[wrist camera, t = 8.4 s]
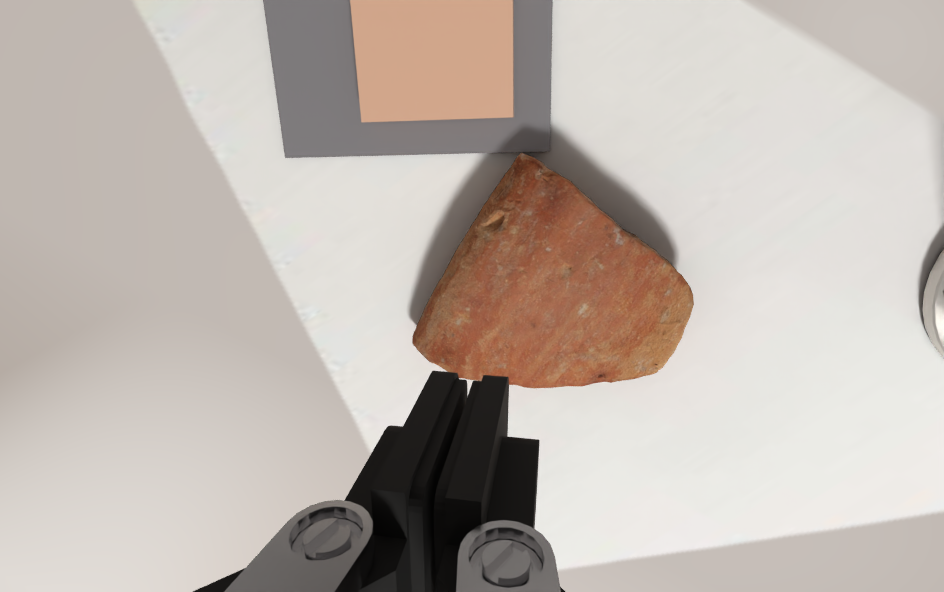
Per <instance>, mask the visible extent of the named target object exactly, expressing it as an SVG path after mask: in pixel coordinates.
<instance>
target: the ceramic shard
mask: <svg viewBox="0 0 944 592" xmlns="http://www.w3.org/2000/svg"><path fill="white" fill-rule="evenodd" d="M693 305H694V302H693V294H692V291H691V288H690V286H689V285H688V283H687V282H686V281H685V279H684V278H683V276H682V275H681V274H680V273H678V272H677V270H676V269H675V268H674V267H673V266H672V265H671V264H670V263H669V261H668V260H667V259H665V258H664V257H662V256H661V255H659V254H658V253H657V251H656V250H654V249H652V248H651V247H650V246H648V245H647V244H646V243H644V242H643V241H641V240H640V239H639V238H638V237H637V236H636V235H634V234H632V233H630V232H627V231H625V230H624V229H622V228H621V227H620V226H619V225H618V224H617V223H616V222H615V221H614V220H613V218H611V217H609V216H608V215H607V214H606V213H604V212H603V211H601V210H600V209H599V208H598V207H597V206H596V205H595V204H594V203H593V202H592V201H591V200H590V199H589V198H588V197H587V196H586V195H584V194H583V193H582V192H581V191H580V190H579V189H578V188H577V187H576V186H575V185H574V184H573V183H572V182H571V181H570V180H568V179H566V178H564V177H562V176H561V175H559V174H557V173H556V172H554V171H552V170H550V169H548V168H547V167H546V166H545V165H544V164H543V162H541V161H539V160H537V159H535V158H533V157H531V156H529V155H526V154H524V153H521V154H519V155H518V156H517V158H516V160H515V161H514V163H513V164H512V166H511V168H510V169H509V170H508V171H507V173H506V174H505V175H504V177H503V178H502V180H501V181H500V183H499V184H498V186H497V187H496V188H495V190H494V191H493V192H492V194H491V196H490V197H489V199H488V201H487V202H486V203H485V204H484V206H483V208H482V209H481V211H480V213H479V214H478V216H477V218H476V219H475V221H474V222H473V224H472V226H471V227H470V229H469V231H468V232H467V234H466V235H465V237H464V239H463V240H462V242H461V243H460V245H459V247H458V248H457V250H456V251H455V253H454V255H453V257H452V259H451V261H450V263H449V265H448V267H447V269H446V271H445V273H444V275H443V276H442V278H441V279H440V281H439V282H438V284H437V286H436V288H435V290H434V292H433V293H432V295H431V297H430V299H429V301H428V303H427V305H426V307H425V309H424V312H423V314H422V316H421V318H420V320H419V322H418V325H417V327H416V330H415V332H414V334H413V345H414V346H415V347H416V348H417V350H418V351H419V352H420V353H421V354H422V355H423V356H424V357H425V358H426V359H427V360H428V361H429V362H431V363H435V364H437V365H438V366H440V367H442V368H443V369H445V370H446V371H448V372H454V373H458V376H459V378H465V379H470V380H477V381H482V378H483V375H492V376H505V377H509V385H519V386H522V387H527V388H552V387H563V386H585V385H589V384H592V383H598V382H611V383H612V382H616V381H622V380H629V379H635V378H639V377H642V376H646V375H651V374H654V373H657V371H658V370H660V369H661V368H663V366H664V365H665V364H666V362H667V361H668V359H669V358H670V357H671V355H672V354H673V353H674V351H675V349H676V347H677V345H678V343H679V342H680V340H681V338H682V335H683V332H684V329H685V327H686V325H687V322H688V320H689V318H690V315H691V311H692V308H693Z"/></svg>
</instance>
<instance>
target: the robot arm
mask: <svg viewBox="0 0 944 592" xmlns="http://www.w3.org/2000/svg"><path fill="white" fill-rule="evenodd" d="M923 317H924V324H925V328H926V331H927V333H928V336H929V338H930V340H931V343H932V344H933V345H934V347H935V348H936V349H937V351H938V352H939V353H940V355H941V356H942V357H943V358H944V250H943V251H942V252H941V253H940V255H939V257H938V259H937V261H936V263H935V264H934V266H933V268H932V270H931V272H930V275H929V278H928V281H927V284H926V287H925V291H924V299H923ZM508 397H509V377H505V376H492V375H483V378H482V381H473V383H472V386H471V389H470V392H469V394H468V397H467V381H466V380H460V379H459V376H458V373H454V372H441V371H432V373H431V374H430V376H429V378H428V380H427V382H426V384H425V386H424V388H423V390H422V392H421V394H420V395H419V397H418V399H417V401H416V403H415V405H414V407H413V409H412V411H411V413H410V415H409V416H408V418H407V420H406V422H405V424H404V426H403V427H400V426H388V427H387V428H386V430H385V431H384V433H383V435H382V436H381V438H380V440H379V442H378V443H377V445H376V447H375V448H374V450H373V452H372V454H371V455H370V457H369V459H368V461H367V462H366V464H365V466H364V468H363V469H362V471H361V473H360V474H359V476H358V478H357V480H356V482H355V483H354V485H353V487H352V489H351V490H350V492H349V494H348V496H347V497H346V499H345V500H344V501H342V500H334V501H325V502H321V503H318V504H315V505H311V506H309V507H307V508H306V509H304V510H302V511H300V512H299V513H297V514H296V515H295V516H294V517H293V518H291V519H290V520H289V521H288V522H287V523H286V524H285V525H284V526H283V527H282V528H281V530H280V531H279V532H278V533H277V534H276V535H275V536H274V537H273V538H272V539H271V541H270V542H269V543H268V544H267V545H266V546H265V547H264V548H263V549H262V550H261V552H260V553H259V554H258V555H257V556H256V557H255V558H254V559H253V560H252V562H251V563H250V564H249V565H248V566H247V567H246V568H245V569H242V570H240V571H238V572H236V573H234V574H231V575H229V576H227V577H225V578H222V579H220V580H218V581H216V582H213V583H211V584H209V585H207V586H204V587H202V588H200V589H198V590H196V591H193V592H565V591H564V590H563V589H562V588H561V587H560V584H559V578H558V572H557V567H556V561H555V556H554V553H553V550H552V548H551V545H550V543H549V542H548V541H547V540H546V539H545V537H544V536H543V535H542V534H541V533H539V532H538V531H536V530H535V529H534V526H535V510H536V494H537V476H538V457H539V440H535V439H525V438H515V437H507V431H508Z"/></svg>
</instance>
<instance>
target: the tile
mask: <svg viewBox="0 0 944 592" xmlns="http://www.w3.org/2000/svg"><path fill="white" fill-rule="evenodd" d="M350 5H351V15H352V26H353V37H354V48H355V59H356V69H357V80H358V91H359V102H360V112H361V122H397V121H427V120H457V119H487V118H514V0H350Z"/></svg>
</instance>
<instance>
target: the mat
mask: <svg viewBox="0 0 944 592" xmlns="http://www.w3.org/2000/svg"><path fill="white" fill-rule="evenodd" d="M263 3H264V10H265V17H266V24H267V31H268V38H269V45H270V53H271V60H272V67H273V74H274V81H275V88H276V95H277V103H278V110H279V117H280V124H281V131H282V138H283V145H284V153H285V158H300V157H339V156H379V155H419V154H459V153H499V152H538V151H550V114H551V54H552V0H514V118H487V119H457V120H427V121H397V122H361V112H360V102H359V91H358V80H357V69H356V59H355V48H354V37H353V26H352V15H351V5H350V0H263Z"/></svg>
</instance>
